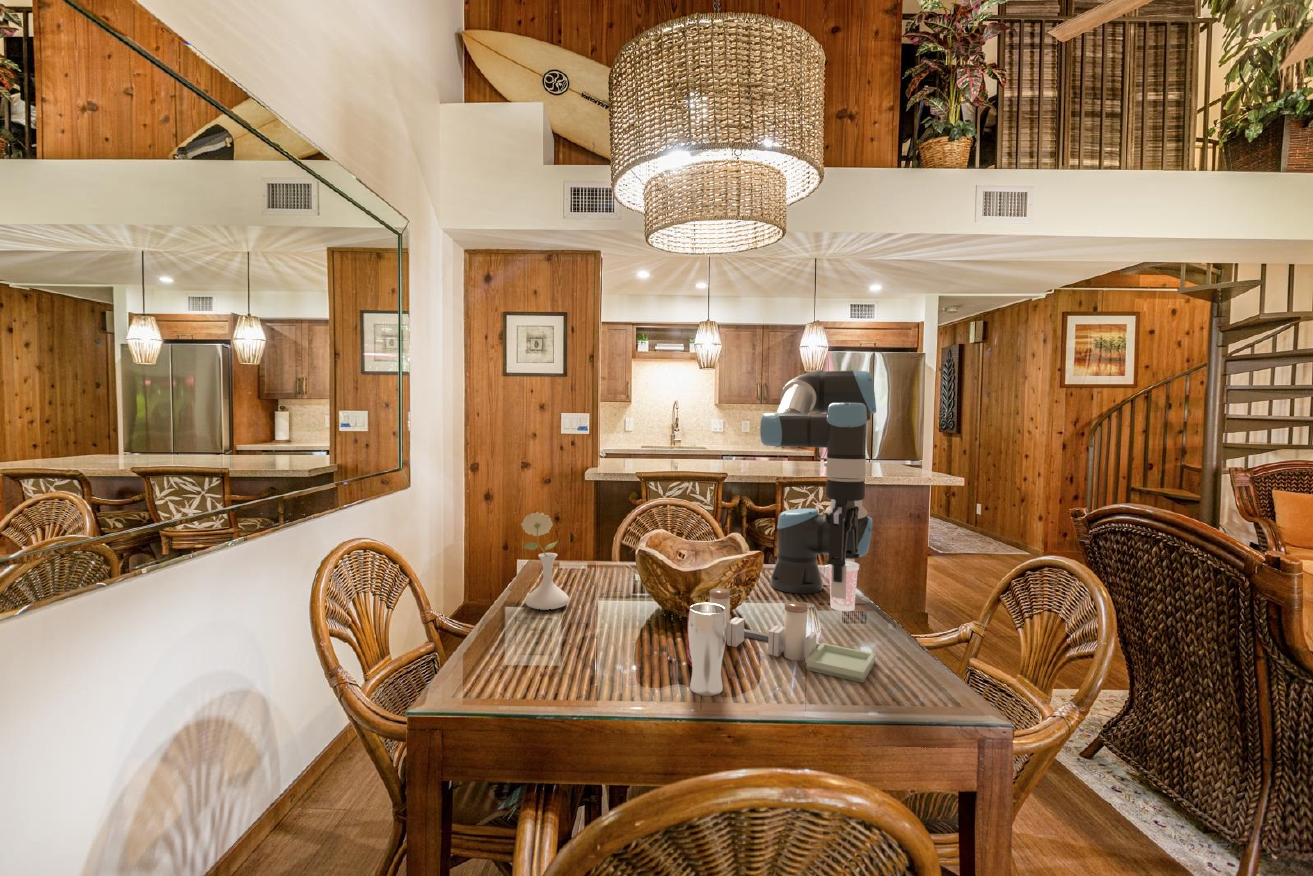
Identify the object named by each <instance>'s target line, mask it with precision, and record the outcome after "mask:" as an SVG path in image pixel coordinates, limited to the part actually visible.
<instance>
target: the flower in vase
mask: <svg viewBox="0 0 1313 876" xmlns="http://www.w3.org/2000/svg"><path fill="white" fill-rule="evenodd" d="M520 525H521V527H522V529H523V530H524V533H526V534H528V535H532V536H533V537H536V540H537V542H533V541H530V542H529V541H528V542H527V543H526V544H524V545H523V547H522V549H526V550H531V551H535V550H536V549H537V548H538V547H539V548H540V549H541V551H542V553H539V554H538V558H539V559H540V562H541V563H542V569H543V570H542V571H543V575H542V582H541V584H540V585H538V587H536V588H535V589H534V590H533V591H531V592H530V593H529V594H528V595H527V596H526V598H525V604H526V605H527V607H529V608H532V609H535V610H539V609H540V610H541V611H546V610H547V611H550V610H549V609H551V610H556V609H559V608H563V607H565V606H567V605H568V603H569V602H570V597H569V596H568V594H567V593H566V592H565V591H563V589H561V588H560V587H558V586H557V585H556V584H555V583H554V580H553V566H554V562H555V560H556V558H558V553H555V552H546V551H548V550H551V549H553V548H554V547H556V545H557V543H558V540H556V541H555V542H552V543H548V544H547V545H546V546H545V547H544V548H543V547H542V546H541V544H540V542H539V541H540V540H539V537H541V536H543V535H545V534H547V533H548V534H549V533H550V530H551V529H552V527H553V526H554V524H553V521H552V518H551V517H550V515H549V514H548V515H547V514H545V513H544V512H541V513H540V512H539V511H536V512H531V513H530V514H527V515H526V516H525V517H524V519H523V520H522V522H521V523H520Z"/></svg>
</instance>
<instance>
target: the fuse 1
mask: <svg viewBox="0 0 1313 876" xmlns="http://www.w3.org/2000/svg"><path fill="white" fill-rule="evenodd" d="M709 603H712V604H718V605H721V606H723V607H724V608H725V614H726V642H725V644H727V622H729V621H730V620H731V619H730V617H731V616H730V615H731V613H730V611H731V607H730V605H731V604H730V603H731V591H730V590H729V589H726V588H718V587H717V588H712V589H709Z"/></svg>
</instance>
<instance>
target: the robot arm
mask: <svg viewBox="0 0 1313 876" xmlns="http://www.w3.org/2000/svg"><path fill="white" fill-rule="evenodd" d="M873 377H874V376H873V375H872V373H870V372H869V371H865V370H855V369H854V370H827V371H826V370H825V371H822V370H817V371H815V370H814V371H809V372H806V373H803V374H800V375H797V376H796V377H793V378H792V379H790V380H789V381H788V382H787V383H786V384H785V385H784V386H783V387H782V390H781V392H780V398H779V399H780V403H779V405H778V407H777V409H776V411H772V412H765V413H763V414H762V415H761V419H760V425H759V426H760V428H759V430H760V431H759V432H760V433H759V437H760V442H761V444H763V446H766V447H769V446H770V447H775V448H782V447H783V448H784V447H785V448H787V447H789V448H792V447H793V448H820V449H821V448H823V449H826V461H825V462H824V463H823V466H824V467H826V474H825V475H826V477H827V478H829V479H827V480H826V481H825V497H826V498H827V499H829V500H830V505H829V506H827V507H826V509H825V512H824V513H825V514H822V513H821V514H819V512H820V511H818V509H817V508H808V507H807V508H795V509H789V510H785V511H782V512H780V514H779V515H778V519H777V526H776V529H777V548H776V549H777V551H776V553H777V555H776V556H777V557H776V562H775V566H774V568H773V571H772V574H771V576H770V586H771V587H772V588H773V589H775V590H778V591H781V592H786V593H792V594H815V593H819V592H821V591H823V587H824V586H823V582H824V581H823V579H822V575H821V572H820V569H819V564H818V555H828V560H826V562H827V565H828V564H831V565H832V578H831V597H834V598H841V599H846V573H847V565H845V561H852V562H855V563H856V559H859V558H860V557H861V558H863V557H865V556H866V555H867V554H868V551H869V549H870V543H871V539H872V530H873V518H872V517H870V516H868V511H867V509H865V508H864V506H863V500H864V499H865V497H866V483H865V481H863V480H864V479H865V478H866V477H867V474H866V471H867V469H866V468H867V467H866V466H867V459H866V450H867V449H866V448H867V424H868V423H869V422H870V421H871V415H873V414H876V413H877V403H876V393H875V387H874V378H873Z"/></svg>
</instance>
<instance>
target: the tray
mask: <svg viewBox="0 0 1313 876" xmlns="http://www.w3.org/2000/svg"><path fill="white" fill-rule="evenodd" d="M819 645H820V646H819V647H818V648H817V649H816V650H815V651H814V652H813V653H812V654H811V655H810V657H809V658H808V659H807V660H806V663H805V664H806V667H805V669H806V671H809V670H810V672H815V673H820V674H822V673H823V675H827V676H832V677H837V678H840V679H844V680H847V681H848V680H849V681H853V682H858V683H861V684H864V683H865V680H866V679H867V677H868V676H869V674H870V672H871V671H872V669H873V667H874V666H875V664H876V653H874V652H870V651H869V652H868V651H864V650H858V649H854V648H850V647H844V646H840V645H839V646H838V645H835V644H831V643H830V644H829V643H825V642H821V644H819Z"/></svg>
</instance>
